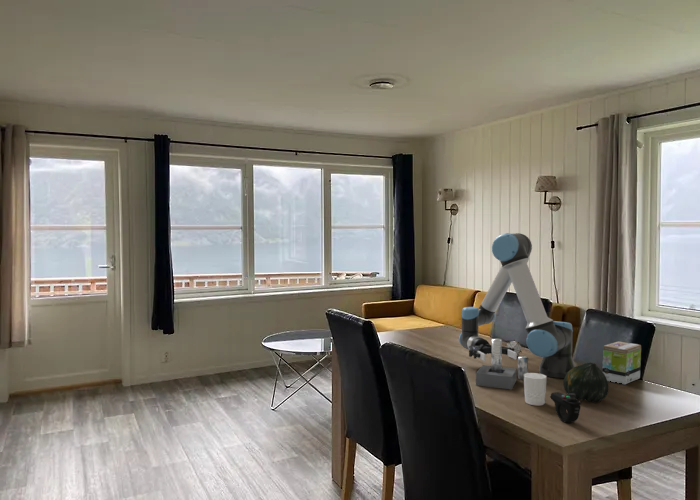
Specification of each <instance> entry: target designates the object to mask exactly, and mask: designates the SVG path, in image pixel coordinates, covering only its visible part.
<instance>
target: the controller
mask: <svg viewBox="0 0 700 500" xmlns="http://www.w3.org/2000/svg"><path fill="white" fill-rule="evenodd" d="M569 395H570V396H569ZM569 395H567V394H564V393H562V392H551V393H550V396H549V399H551V401H553V403H554V409H555V413H556V415H557V417H558V418H559V419H560V420H561V421H562V422H564V423H574V422H576V421H577V420H578V419H579V416H580V411H581V404H582V402H581V401H580V400H579V399H576V398H575V397H574V396H575V394H574V393H569Z"/></svg>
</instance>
